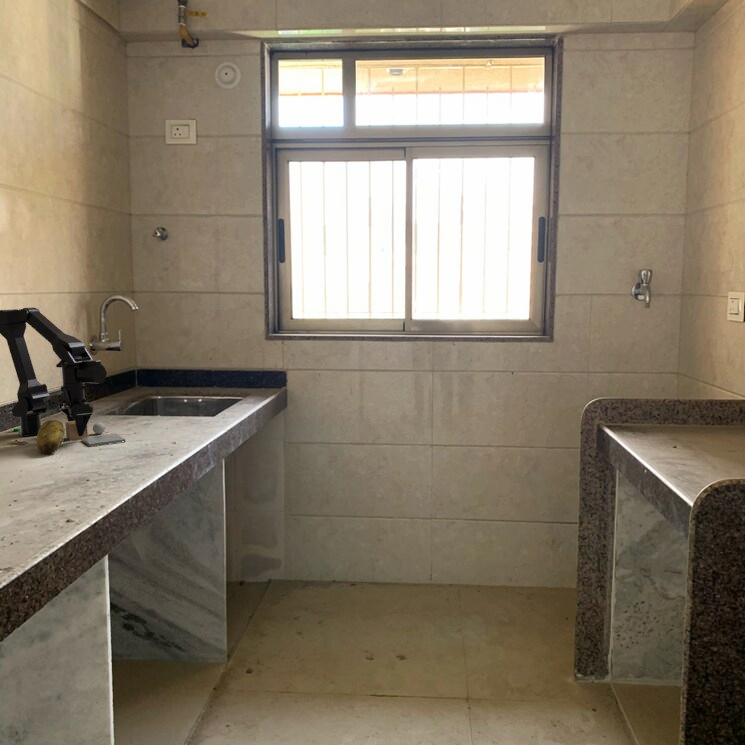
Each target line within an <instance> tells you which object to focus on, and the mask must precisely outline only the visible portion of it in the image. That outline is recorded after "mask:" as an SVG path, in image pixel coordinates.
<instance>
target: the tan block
mask: <svg viewBox="0 0 745 745" xmlns="http://www.w3.org/2000/svg"><path fill="white" fill-rule="evenodd" d="M88 435H89V432H88V425H87V426H86V428H85V431H84V433H83V436H78V432H77V428H76V424H75V421H69V422H68V421H65V436H66V437H65V438H68V439H67V440H69V441H70V440H72V441H77V439H79V440H81V438H86V437H89V436H88Z"/></svg>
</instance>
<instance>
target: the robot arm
mask: <svg viewBox="0 0 745 745" xmlns="http://www.w3.org/2000/svg"><path fill="white" fill-rule="evenodd" d="M27 324H28V325H29V326H30V327H31V328H32V329H33V330H34V331H35V332H37V333H38V334H40V336H42V338H44V339H45V340H46V341H47V342H48V343H49V344H50V345H51V346H52V351H53V352H54V354H55V355H56V356H57V357H58V358H59V359H60V361H59V362H58V363H57V364H56V365H55V367H56V368H60V369H61V371H62V385H61V387H60V391H58V392H54V393H53V394H49V391H48V387H47V385H46V383H41V382H40V381H38V378H37V376H36V373H35V369H34V365H33V363H32V362H33V361H32V359H31V355H30V353H29V348H28V346H27V342H26V340H25V333H26V329H27ZM0 336H1V337H3V338H4V339H5V340H6V342H7V346H8V349H9V353H10V356H11V359H12V363H13V366H14V370H15V373H16V377H17V379H18V382H19V386H18V389H17V393H16V396H17V402H16V404H15V405H14V406H13V407H12V409H11V412H12V415H13V416H12V417H15V418H18V417H19V420H20V421H19V422H20V431H19V432H18V435H19V436H21V437H30V436H37V435H38V431H39V429H40V427H41V425H42V422H41V414H45V413H47V410H49V411H52V410H55V408H59V409H58V410H60V411H61V412H62V413H64V415H65V417H66V419H67V422H69V421H75V424H76V428H77V432H78V436H83V433H84V431H85V428H86V426H87V427H88V423H89V421H90V419H91V416H92V415H93V413H94V406H93V405H92V404H91V403H90V402H88V400H87V399H86V398H85V390H86V389H87V388H86V385H85V384H98V385H99V384H102V383H103V384H104V382H105V380H106V378H107V375H108V374H107V373H108V372H107V370H106V368H105V366H104V365H103V364H102V361H101V360H94V359H93V357H92V356H91V354H90V352H89V351H88V350H87V348H86V346H85V343H84V342H83V341H81V340H80V339H78V338H77V337H75V336H73V335H69V334H68V333H65V332H63V331H62V330H61V329H60V328H58V326H57V325H56V324H54V323H53V322H52V321H51V320H50V319H49V318H47V317H46V316H45V315H44V314H42V313H41V310H40V309H39V308H36V307H24V308H21V309H19V308H18V309H0Z"/></svg>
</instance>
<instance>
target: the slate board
mask: <svg viewBox="0 0 745 745" xmlns="http://www.w3.org/2000/svg"><path fill="white" fill-rule="evenodd" d="M80 441H81V442H82V441H83V443H84V444H85V443H86V444H85V445H86V446H88V445H89V446H88V447H90V446H92V447H97V445H99V446H104V444H107V445H110V444H109V443H114V444H117V443H116V442H121V443H123V442H122V441H125V442H126V438H124V437H122V436H121V435H119V434H117V433H111V434H102V435H95V436H88V437H86V438H81V439H80Z"/></svg>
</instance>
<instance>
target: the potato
mask: <svg viewBox="0 0 745 745" xmlns="http://www.w3.org/2000/svg"><path fill="white" fill-rule="evenodd" d="M65 434H66V429H65V428H64V424H63V422H61V421H59V420H56V419H49V420H46V421H45V422H43V423H41V427H40V429H39V431H38V435H36V448H37V450H38V451H39V452H40V453H42V454H48V455H50V454H53V453H55V452H56V451H58V450H59V448H60V445H61V444H62V443H63V442H62V440H63V438H64V436H65ZM61 442H62V443H61Z"/></svg>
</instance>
